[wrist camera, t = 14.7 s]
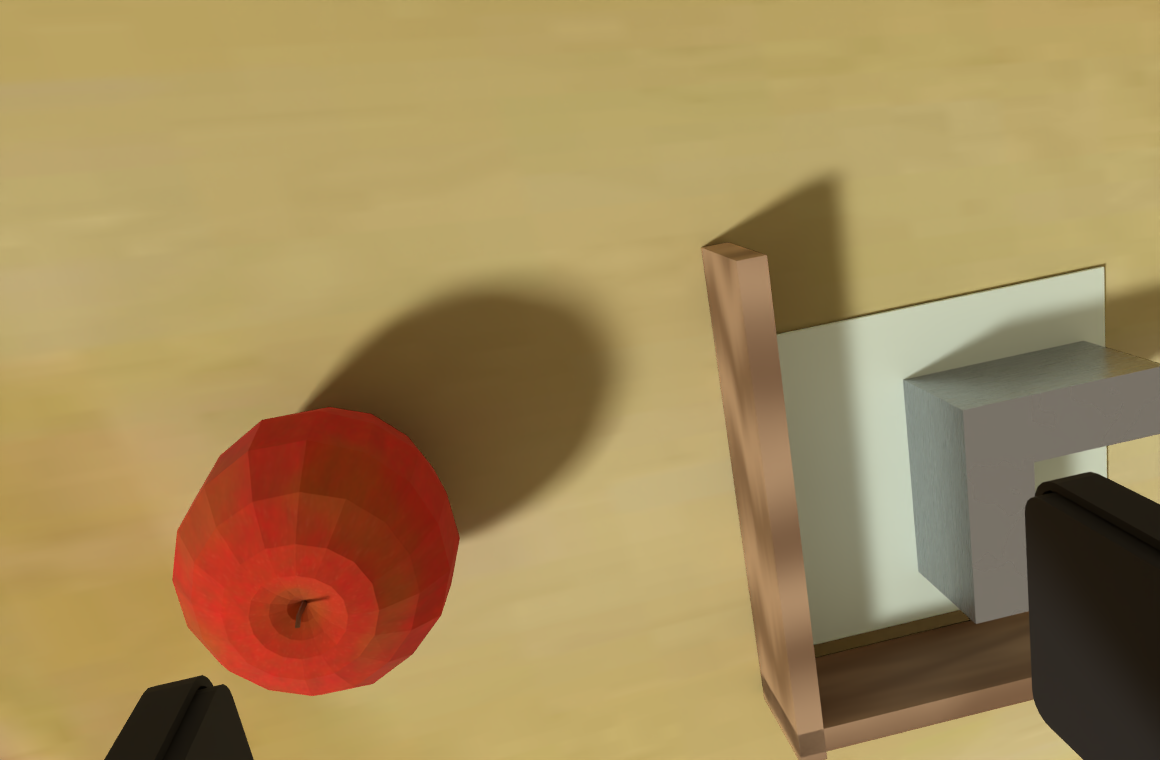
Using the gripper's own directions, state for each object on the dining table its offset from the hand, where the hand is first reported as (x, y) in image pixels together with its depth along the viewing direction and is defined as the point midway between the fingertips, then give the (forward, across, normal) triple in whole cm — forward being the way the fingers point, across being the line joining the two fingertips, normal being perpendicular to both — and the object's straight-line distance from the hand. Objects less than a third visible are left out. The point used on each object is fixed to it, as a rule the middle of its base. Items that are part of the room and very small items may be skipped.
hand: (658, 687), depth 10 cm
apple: (+28, +9, +7) cm, 31 cm away
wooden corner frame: (+28, -18, +11) cm, 36 cm away
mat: (+28, -19, +12) cm, 36 cm away
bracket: (+28, -21, +12) cm, 37 cm away
